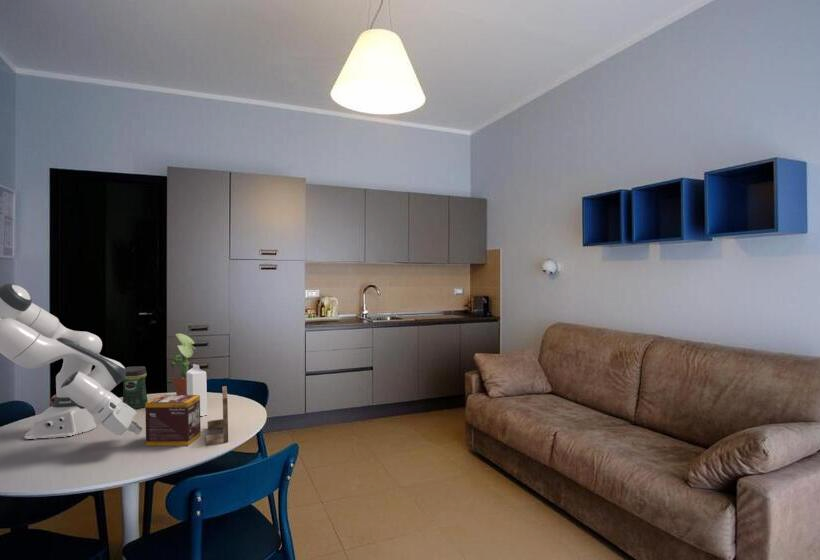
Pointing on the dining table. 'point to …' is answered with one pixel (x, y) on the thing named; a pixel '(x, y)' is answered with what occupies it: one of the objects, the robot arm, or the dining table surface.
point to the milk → (198, 386)
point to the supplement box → (172, 420)
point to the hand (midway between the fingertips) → (140, 431)
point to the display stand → (219, 424)
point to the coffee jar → (135, 387)
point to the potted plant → (182, 363)
